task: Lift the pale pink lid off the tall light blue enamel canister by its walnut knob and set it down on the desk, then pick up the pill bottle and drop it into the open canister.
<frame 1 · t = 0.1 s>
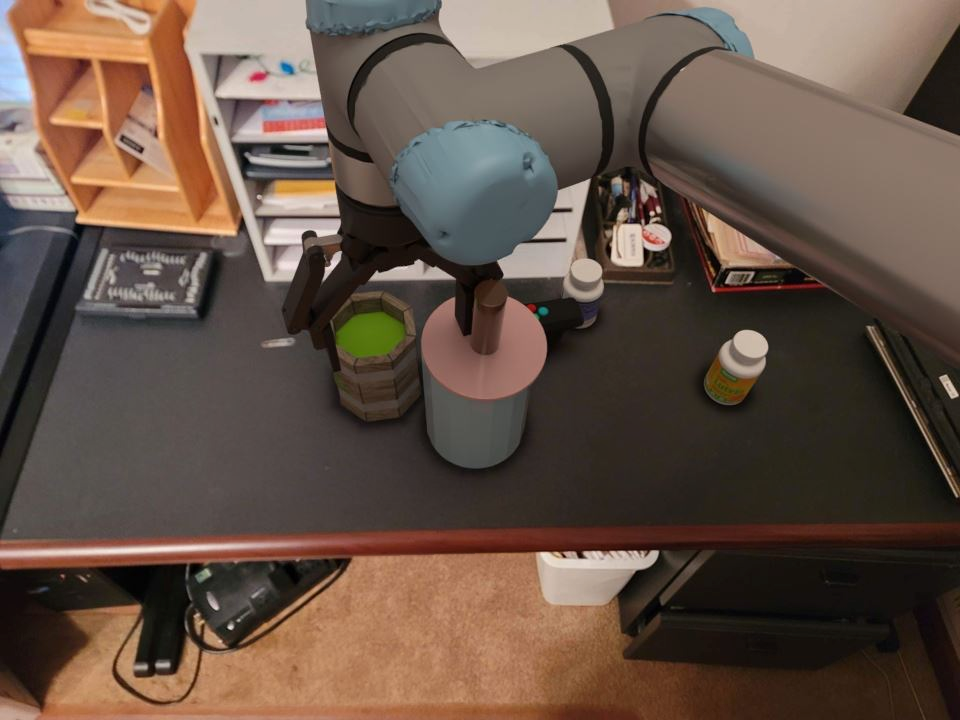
hand: (399, 342, 68), 18 cm above the table, tool pointing down, fingers open, 12 cm apart
lid: (484, 345, 70), point 17 cm above the table, touching gripper, tin
pill bottle: (576, 315, 94), on the table
supplement bottle: (723, 388, 88), on the table
tin: (475, 424, 84), on the table
mug: (370, 371, 88), on the table
controller: (529, 351, 91), on the table
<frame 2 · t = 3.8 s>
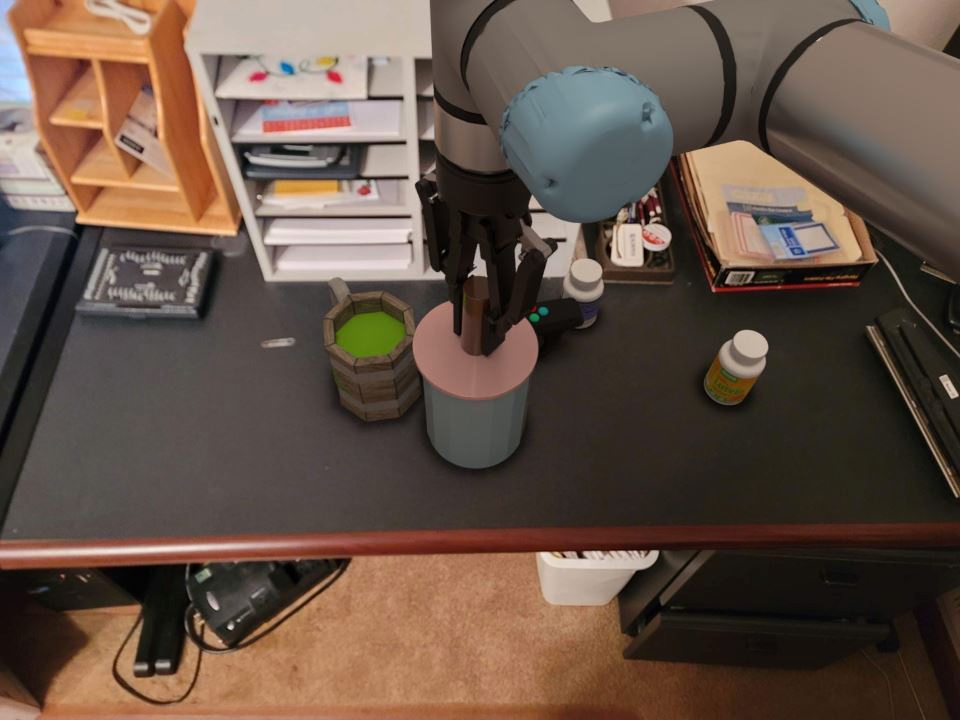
hand: (479, 336, 69), 18 cm above the table, tool pointing down, fingers closed on lid, 3 cm apart
lid: (475, 347, 70), point 17 cm above the table, touching gripper, tin
everything else where it was.
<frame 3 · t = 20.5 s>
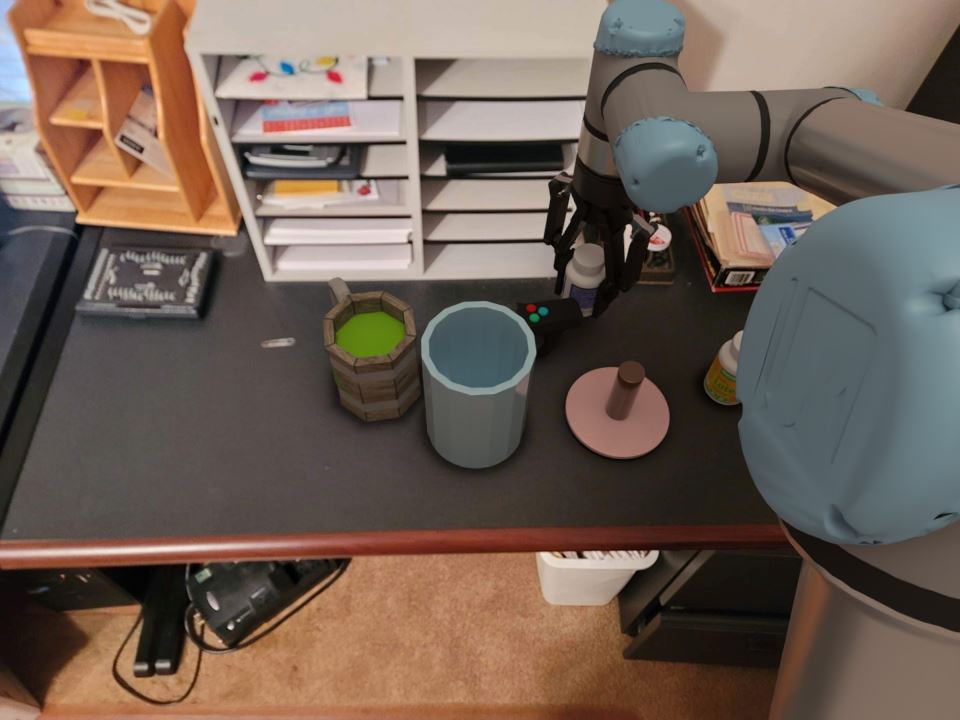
hand: (580, 300, 91), 3 cm above the table, tool pointing down, fingers closed on pill bottle, 5 cm apart
lid: (616, 412, 85), point 1 cm above the table
pill bottle: (579, 303, 92), point 3 cm above the table, touching gripper
everything else where it was.
when the fingers open (17 cm above the table, at t = 28.8 s): pill bottle stays where it is, resting on tin.
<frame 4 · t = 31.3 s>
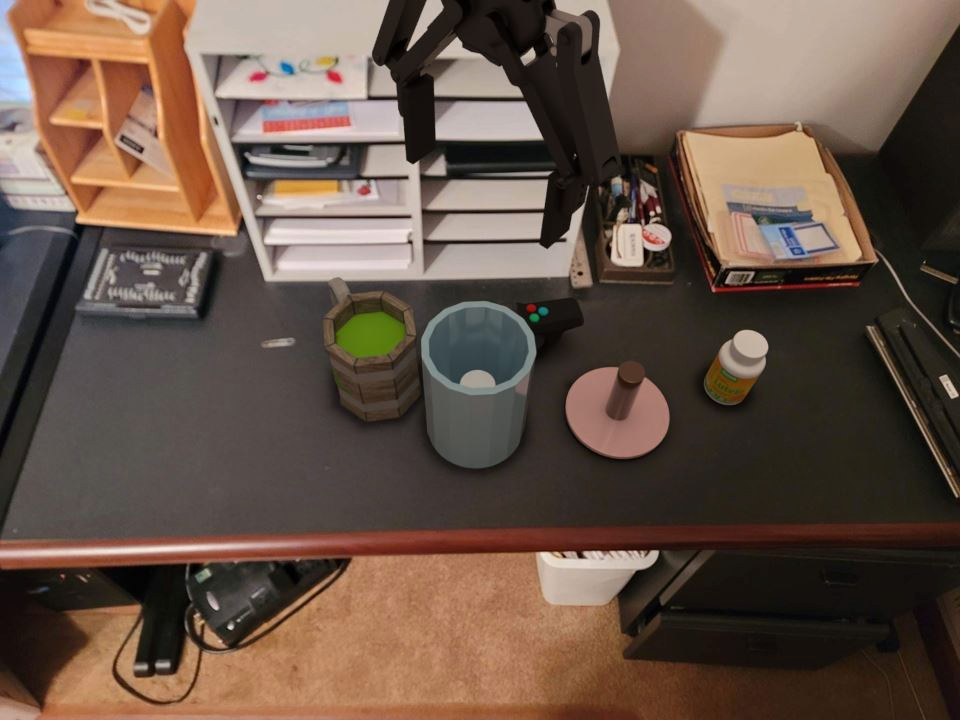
hand: (484, 194, 54), 37 cm above the table, tool pointing down, fingers open, 13 cm apart
pill bottle: (476, 425, 84), resting on tin
everything else where it was.
at the end: lid inside the target area (0.5 cm from its centre), point 0.6 cm above the table; lid tilted 0°; pill bottle inside the target area in the tin (0.2 cm from its centre), point 0.3 cm above the tin's base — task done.
